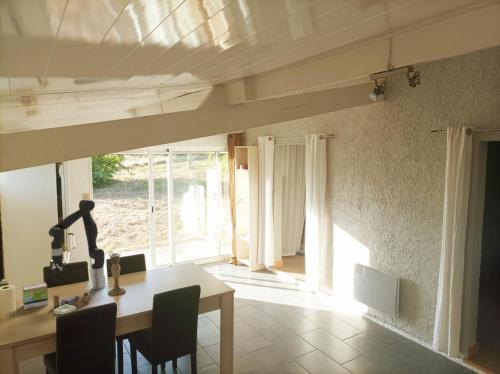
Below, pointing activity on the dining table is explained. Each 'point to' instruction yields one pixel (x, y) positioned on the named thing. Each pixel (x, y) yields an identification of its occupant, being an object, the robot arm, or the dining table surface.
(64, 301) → the grey rectangular block
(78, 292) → the dining table surface
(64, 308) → the tray
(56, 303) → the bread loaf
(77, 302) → the block
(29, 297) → the tea box
